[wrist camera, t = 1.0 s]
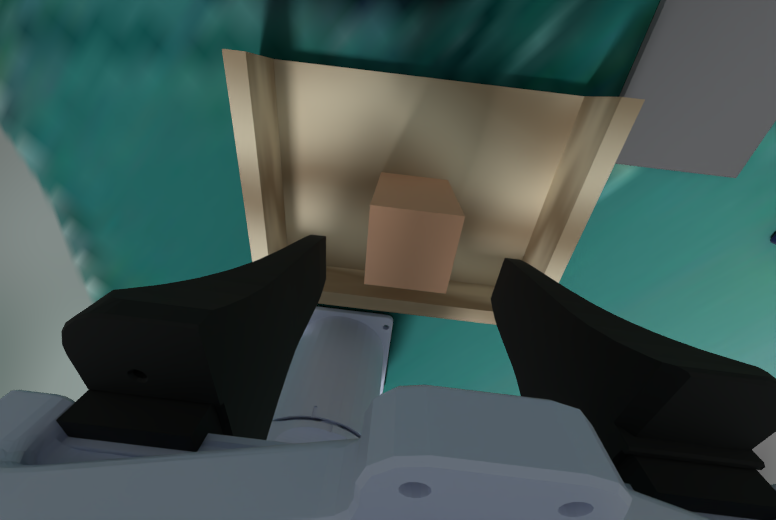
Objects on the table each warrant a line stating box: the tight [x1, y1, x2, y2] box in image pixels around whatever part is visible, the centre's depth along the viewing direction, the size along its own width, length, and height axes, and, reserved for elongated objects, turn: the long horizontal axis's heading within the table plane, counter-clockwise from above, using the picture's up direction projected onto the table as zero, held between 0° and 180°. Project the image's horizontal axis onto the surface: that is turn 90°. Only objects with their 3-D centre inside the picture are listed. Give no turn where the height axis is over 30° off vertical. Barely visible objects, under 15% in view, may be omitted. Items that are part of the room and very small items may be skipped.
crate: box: [222, 49, 645, 325], centre depth 17 cm, size 13×18×4 cm
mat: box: [615, 0, 776, 178], centre depth 15 cm, size 8×8×1 cm
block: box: [364, 172, 465, 294], centre depth 16 cm, size 4×4×6 cm
